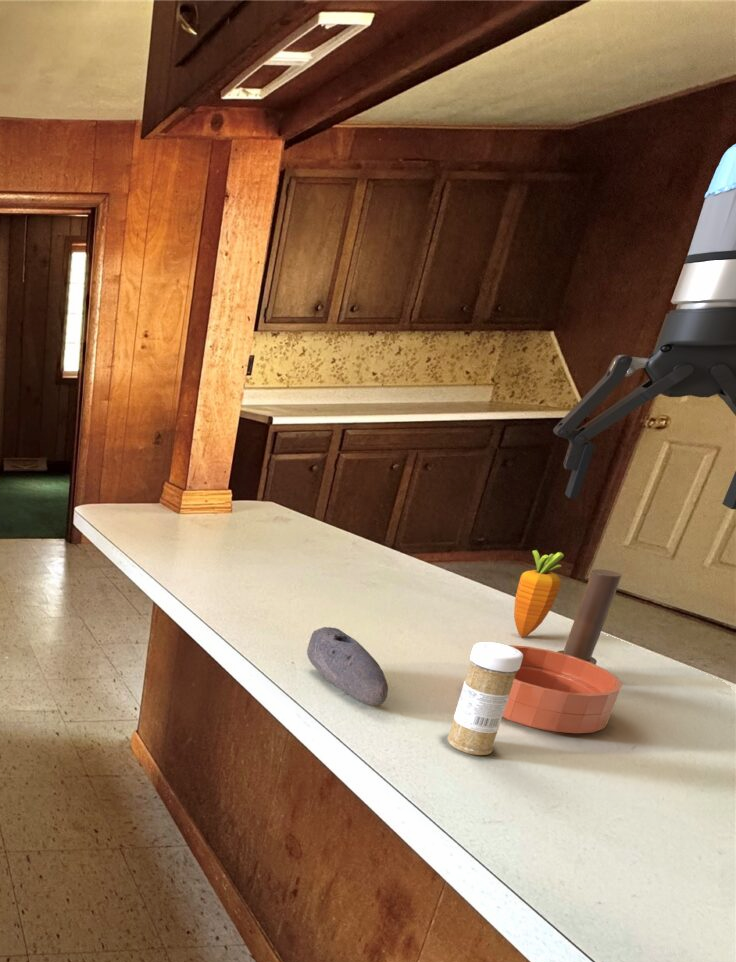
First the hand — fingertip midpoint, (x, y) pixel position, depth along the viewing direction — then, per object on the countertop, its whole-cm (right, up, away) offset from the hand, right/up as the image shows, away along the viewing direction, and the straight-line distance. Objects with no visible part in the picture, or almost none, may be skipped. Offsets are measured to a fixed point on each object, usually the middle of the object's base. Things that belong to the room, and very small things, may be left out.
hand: (647, 501), depth 78 cm
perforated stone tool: (-25, -25, +18) cm, 39 cm away
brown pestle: (+9, -23, +19) cm, 31 cm away
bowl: (-3, -26, +11) cm, 29 cm away
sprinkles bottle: (-18, -30, +4) cm, 35 cm away
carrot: (+13, -18, +31) cm, 38 cm away
